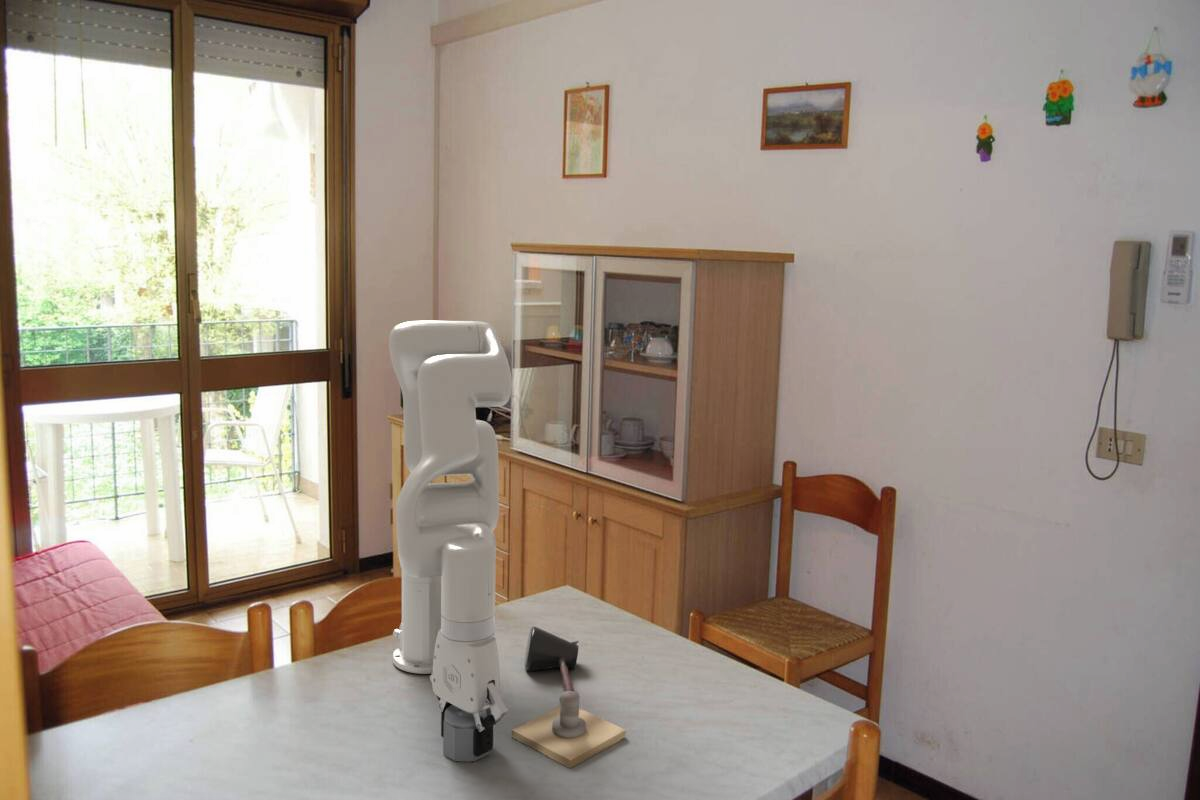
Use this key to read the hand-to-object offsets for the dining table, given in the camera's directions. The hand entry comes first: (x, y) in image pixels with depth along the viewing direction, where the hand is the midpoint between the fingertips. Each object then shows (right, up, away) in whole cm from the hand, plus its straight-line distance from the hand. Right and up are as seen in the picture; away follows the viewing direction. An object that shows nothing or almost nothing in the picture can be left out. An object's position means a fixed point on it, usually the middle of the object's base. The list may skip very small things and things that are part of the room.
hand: (466, 742), depth 133 cm
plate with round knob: (+15, -1, +5) cm, 15 cm away
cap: (0, -1, 0) cm, 1 cm away
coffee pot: (+11, +1, +23) cm, 26 cm away
